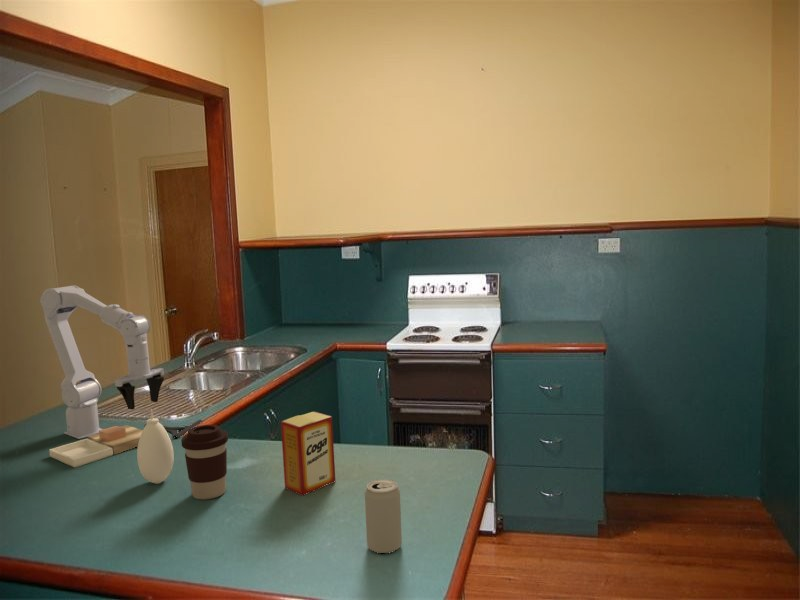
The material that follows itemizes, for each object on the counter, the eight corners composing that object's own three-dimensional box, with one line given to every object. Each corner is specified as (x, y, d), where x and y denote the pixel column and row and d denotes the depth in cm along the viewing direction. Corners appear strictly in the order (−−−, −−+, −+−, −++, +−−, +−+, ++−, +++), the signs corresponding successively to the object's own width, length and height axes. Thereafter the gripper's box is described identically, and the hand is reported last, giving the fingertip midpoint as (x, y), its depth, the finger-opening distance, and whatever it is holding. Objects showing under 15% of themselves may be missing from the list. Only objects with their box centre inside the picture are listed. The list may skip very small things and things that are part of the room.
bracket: (158, 423, 198) (158, 415, 198) (203, 424, 195) (202, 415, 195) (131, 439, 184) (130, 430, 184) (178, 441, 181) (177, 431, 181)
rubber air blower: (163, 489, 146) (156, 413, 144) (133, 488, 148) (126, 413, 145) (181, 476, 154) (175, 403, 151) (152, 474, 155) (146, 403, 153)
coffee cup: (240, 486, 146) (235, 423, 144) (214, 505, 137) (209, 438, 135) (204, 482, 149) (199, 420, 148) (176, 500, 140) (170, 434, 138)
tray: (50, 456, 170) (49, 449, 170) (88, 445, 178) (87, 438, 178) (74, 467, 162) (73, 460, 162) (113, 455, 170) (112, 448, 170)
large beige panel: (89, 445, 179) (88, 436, 178) (127, 433, 188) (127, 425, 187) (114, 454, 170) (113, 445, 170) (153, 442, 179) (153, 433, 179)
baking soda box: (317, 474, 151) (313, 409, 149) (335, 481, 147) (331, 414, 145) (285, 488, 145) (280, 420, 143) (302, 495, 140) (298, 425, 138)
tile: (99, 438, 176) (98, 430, 176) (116, 433, 180) (116, 425, 180) (108, 441, 173) (107, 433, 173) (126, 436, 177) (125, 428, 177)
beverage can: (366, 540, 120) (363, 479, 118) (400, 537, 120) (398, 476, 119) (367, 557, 113) (364, 493, 112) (403, 554, 114) (401, 490, 112)
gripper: (123, 365, 172) (129, 413, 174) (168, 354, 184) (173, 399, 186) (108, 363, 176) (113, 410, 178) (153, 352, 188) (158, 397, 190)
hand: (143, 405), depth 182 cm, fingers open, 7 cm apart
